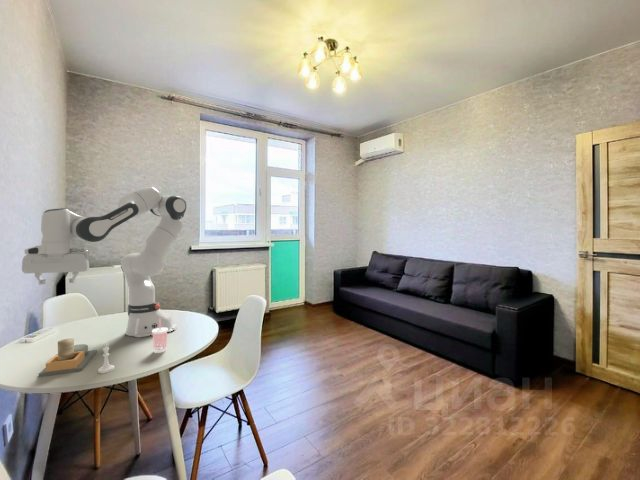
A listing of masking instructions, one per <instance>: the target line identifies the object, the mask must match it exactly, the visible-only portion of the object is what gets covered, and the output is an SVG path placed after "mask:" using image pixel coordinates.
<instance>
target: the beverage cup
mask: <svg viewBox="0 0 640 480" xmlns="http://www.w3.org/2000/svg"><path fill="white" fill-rule="evenodd" d="M167 331H168V328H166V327H161V318H159V328H156V329H153V330H152V334H153V335H152V344H153V352H154V353H155V354H160V353H164V352H166V351H167V346H168V345H167V344H168V343H167V342H168V333H167ZM165 350H166V351H165Z"/></svg>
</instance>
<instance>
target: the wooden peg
mask: <svg viewBox="0 0 640 480" xmlns="http://www.w3.org/2000/svg"><path fill="white" fill-rule="evenodd" d="M74 345H75V339H74V338H65V339H60V340H58V341H57V354H58V361H63V360H71V359H74Z"/></svg>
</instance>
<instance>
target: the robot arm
mask: <svg viewBox="0 0 640 480" xmlns="http://www.w3.org/2000/svg"><path fill="white" fill-rule="evenodd" d="M117 206H118V207H117V208H115V209H113V210H111V211H109V212H107V213H105V214H104V215H100V216H90V217H88V216H87V217H84V216H82V215H80V214H79V215H78V214H77V213H75V212H73V211H70V210H69V209H68V208H62V207H61V208H51V209H46V210H45V211H43V212H42V215H41V223H40V231H41V234H42V238H41V243H40V245H36V246H33V247H29V248H26V249H24V254H25V255H24V256H23V257H22V261H21V271H22V272H23V274H34V277H35V279H36V280H37V281H38V285H46V283H47V282H46V279H44V278H43V277H42V275H43V274H46V273H47V274H49V273H51V274H52V273H53V274H54V273H72V275H73V276H72V277H70V278H68V284H74V283H76V279H77V277H78V276H79V273H81V272H87V271H89V269H90V262H89V258H90V252H89V251H88V250H87V249H85V248H72V240H73V239H74V240H78V241H87V242H89V243H90V242H91V243H96V242H101V241H103V240H104V239H105V238H106V237H107V236H108V235H109V234H110V233H111V231H112V230H114V229H115V228H117V227H118V226H120V225H121V224H124V223H125V222H128V220H130V219H132V218H135V217H138V216H141V215H143V214H144V213H147V212H148V211H150V213H152V215H155V216H157V217H161V219H160V222H159V223H158V225H157V226H156V227H155V228H154V230H153V231H152V232H151V233H150V234H149V235H148V237H147V238H146V240H145V243H146V244H145V247H144V249H143V251H142V252H141V253H139V252H132V253H128V254H126V255H124V256H123V257H122V259H121V260H120V266H121V269H122V270H123V273H124V275H125V279H126V283H127V287H128V305H127V316H128V320H127V325H126V330H125V332H124V333H125V335H126V336H129V337H135V338H143V337H150V335H151V336H153V334H152V330H153V329H156V328H159V318H161V327H166V328H168V331H167V332H169V333H172V332H171V331H173V330H174V331H176V329H177V328H176V326H177V327H178V325H177V323H176V322H173V319H172V317H171V315H170V314H169V313H167V312H166V311H164V310H162V309H161V308H160V306H161V305H160V302H157V301H156V287H155V284H154V283H153V281H152V279H151V277H155V276H158V275H160V274H161V273H162V272H163V270H164V268H165V263H164V259H165V257H166V254H167V252H168V250H169V249H170V247H171V246H172V245H173V243H174V242H175V240H176V239H177V237H178V236H179V235H180V233H181V231H182V229H183V226H184V223H183V221H182V218H184V215H185V212H186V210H187V202H186V200H185V199H184V197H181V196H179V195H161V193H160V191H159V190H158V189H157V188H155V187H153V186H146V187H145V186H144V187H141V188H139V189H136V190H133V191H131V192H129V193H126V194H125V195H123V196H122V197H121V198H119V199H118V202H117ZM175 328H176V329H175ZM174 331H173V332H174Z"/></svg>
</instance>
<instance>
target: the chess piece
mask: <svg viewBox="0 0 640 480" xmlns="http://www.w3.org/2000/svg"><path fill="white" fill-rule="evenodd" d="M102 346H103V348H102V352H103V354H102V357H104V359H103V364H102V366H101V367H99V368H98V369H97V373H99V374H107V373H110V372H112V371H114V370H115V365H113V364H110V362H109V356H110V353H109V351H110V347H109V346H110V345H109V343H108V342H104V344H102Z"/></svg>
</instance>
